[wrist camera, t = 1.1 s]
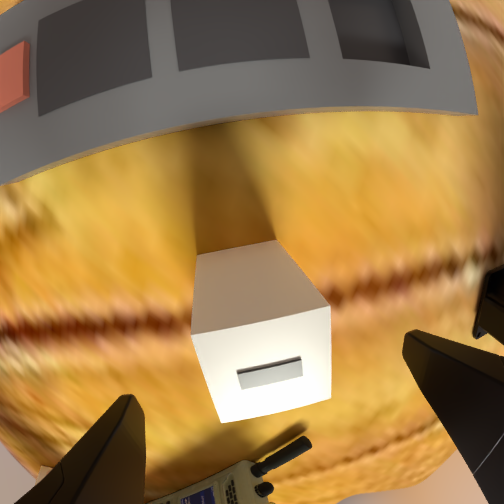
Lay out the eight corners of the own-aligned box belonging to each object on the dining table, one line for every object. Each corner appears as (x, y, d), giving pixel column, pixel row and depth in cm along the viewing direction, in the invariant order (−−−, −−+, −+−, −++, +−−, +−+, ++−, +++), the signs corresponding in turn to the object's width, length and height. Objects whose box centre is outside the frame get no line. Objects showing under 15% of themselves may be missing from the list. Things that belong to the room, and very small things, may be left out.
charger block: (276, 239, 15) (331, 307, 8) (285, 309, 16) (331, 399, 9) (197, 255, 14) (190, 337, 8) (213, 324, 16) (221, 425, 9)
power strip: (422, -15, 11) (444, -27, 8) (456, 115, 14) (485, 114, 12) (-56, 78, 8) (-78, 75, 5) (-48, 214, 11) (-73, 224, 9)
